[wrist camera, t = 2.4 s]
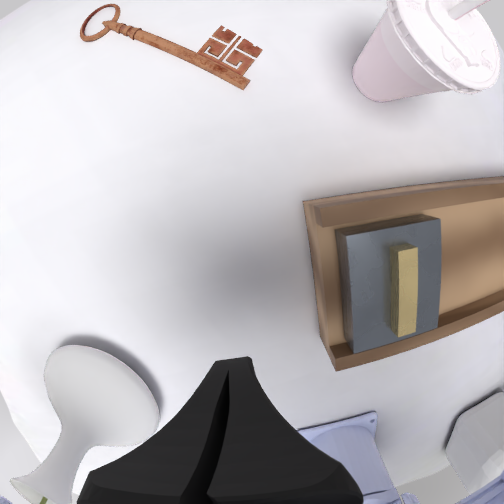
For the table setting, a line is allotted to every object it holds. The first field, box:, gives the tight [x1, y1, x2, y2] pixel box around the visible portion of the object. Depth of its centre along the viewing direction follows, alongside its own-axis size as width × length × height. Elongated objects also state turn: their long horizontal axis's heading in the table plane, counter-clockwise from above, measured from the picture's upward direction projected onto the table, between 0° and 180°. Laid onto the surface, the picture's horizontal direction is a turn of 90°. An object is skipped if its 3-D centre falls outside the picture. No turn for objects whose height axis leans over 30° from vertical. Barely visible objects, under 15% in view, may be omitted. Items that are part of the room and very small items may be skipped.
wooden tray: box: [303, 176, 504, 371], centre depth 18 cm, size 10×20×4 cm, turn 101°
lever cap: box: [335, 214, 442, 354], centre depth 15 cm, size 7×6×3 cm
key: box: [80, 4, 262, 90], centre depth 16 cm, size 6×1×15 cm
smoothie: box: [352, 0, 500, 102], centre depth 10 cm, size 6×6×14 cm
